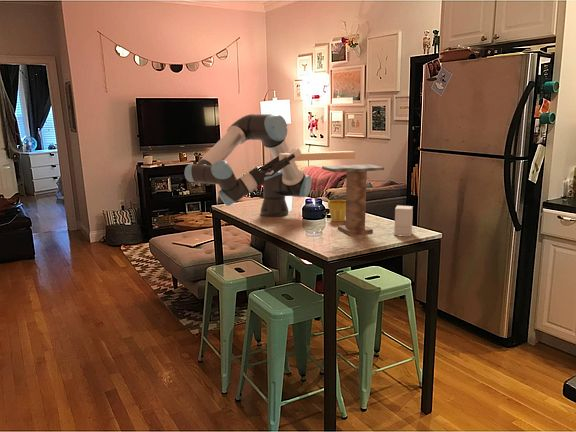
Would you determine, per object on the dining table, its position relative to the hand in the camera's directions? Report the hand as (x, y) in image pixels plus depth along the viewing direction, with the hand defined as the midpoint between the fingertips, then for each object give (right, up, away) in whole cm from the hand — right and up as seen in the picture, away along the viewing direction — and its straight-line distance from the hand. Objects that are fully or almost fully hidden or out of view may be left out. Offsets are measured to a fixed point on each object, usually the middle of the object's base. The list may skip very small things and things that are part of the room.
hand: (297, 150), depth 207 cm
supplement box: (+48, -37, +11) cm, 61 cm away
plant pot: (+21, -30, +39) cm, 54 cm away
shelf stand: (+25, -35, +17) cm, 46 cm away
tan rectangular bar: (+9, -3, +4) cm, 10 cm away
